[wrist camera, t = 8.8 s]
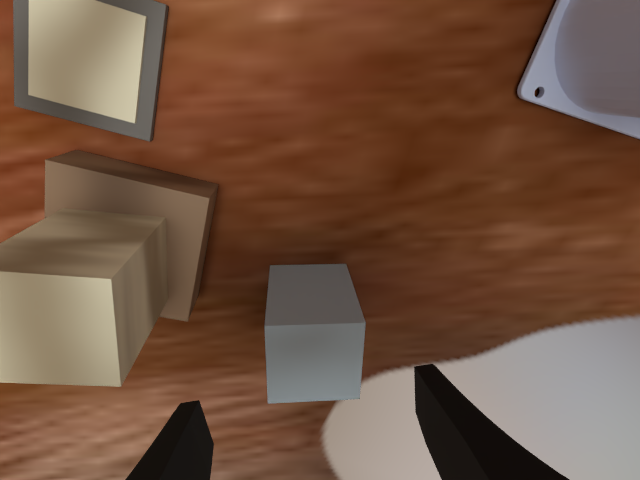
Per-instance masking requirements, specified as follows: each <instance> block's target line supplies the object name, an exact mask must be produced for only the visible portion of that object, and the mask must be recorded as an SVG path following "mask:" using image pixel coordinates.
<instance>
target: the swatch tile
mask: <svg viewBox="0 0 640 480" xmlns="http://www.w3.org/2000/svg"><path fill="white" fill-rule="evenodd" d="M168 8H169V6H167V5H165V4H162V3H159V2H156V1H153V0H13V9H14V106H17V107H21V108H24V109H28V110H32V111H36V112H40V113H43V114H47V115H51V116H55V117H59V118H62V119H66V120H70V121H74V122H78V123H81V124H85V125H89V126H93V127H97V128H100V129H104V130H108V131H112V132H116V133H119V134H123V135H127V136H131V137H135V138H139V139H142V140H146V141H152V140H153V132H154V124H155V116H156V107H157V99H158V91H159V83H160V74H161V66H162V58H163V50H164V41H165V33H166V25H167V17H168Z"/></svg>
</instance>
